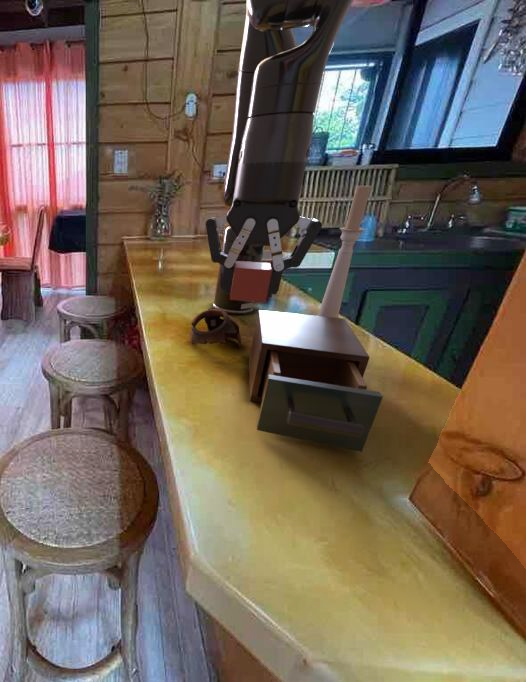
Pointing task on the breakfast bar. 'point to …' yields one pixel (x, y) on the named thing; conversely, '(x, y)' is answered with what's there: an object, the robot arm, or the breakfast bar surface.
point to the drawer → (316, 400)
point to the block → (251, 281)
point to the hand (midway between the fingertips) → (247, 293)
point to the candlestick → (345, 254)
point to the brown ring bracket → (215, 327)
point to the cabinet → (301, 342)
